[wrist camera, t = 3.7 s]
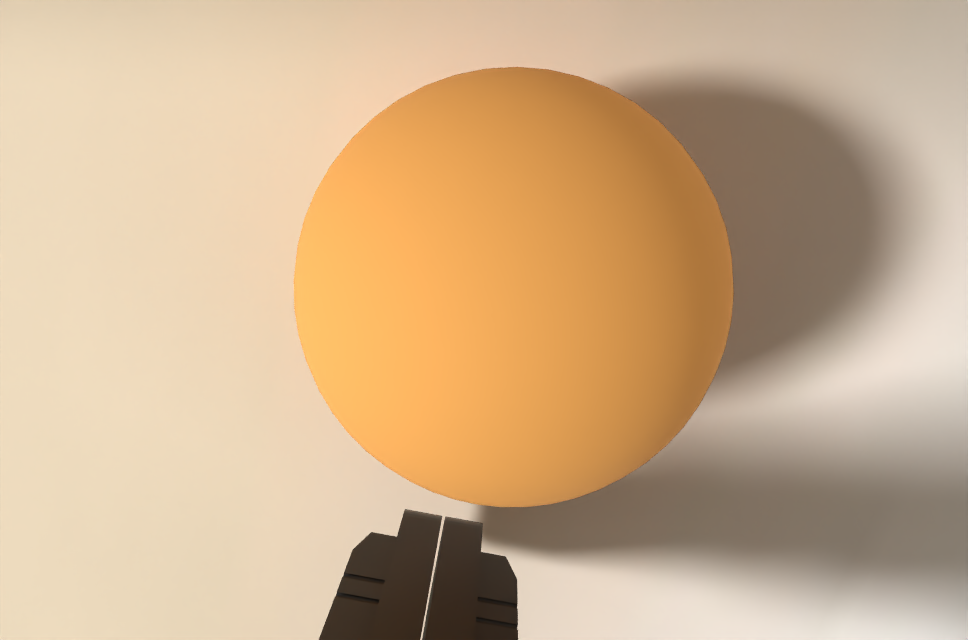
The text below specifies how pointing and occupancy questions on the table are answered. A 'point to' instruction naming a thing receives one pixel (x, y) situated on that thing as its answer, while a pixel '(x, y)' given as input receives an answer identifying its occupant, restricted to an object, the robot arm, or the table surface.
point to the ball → (513, 287)
